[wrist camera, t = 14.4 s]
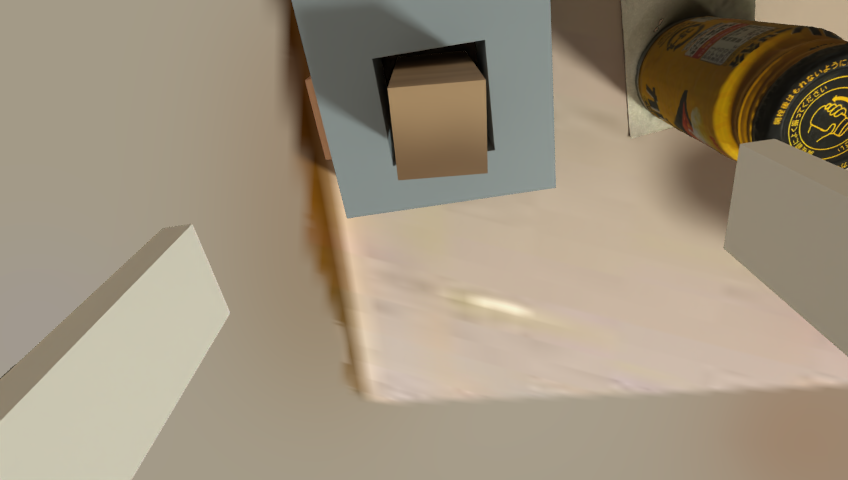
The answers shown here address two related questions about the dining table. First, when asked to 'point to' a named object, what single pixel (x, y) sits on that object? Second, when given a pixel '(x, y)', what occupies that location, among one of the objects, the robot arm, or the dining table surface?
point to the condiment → (734, 77)
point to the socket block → (369, 102)
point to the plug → (438, 116)
